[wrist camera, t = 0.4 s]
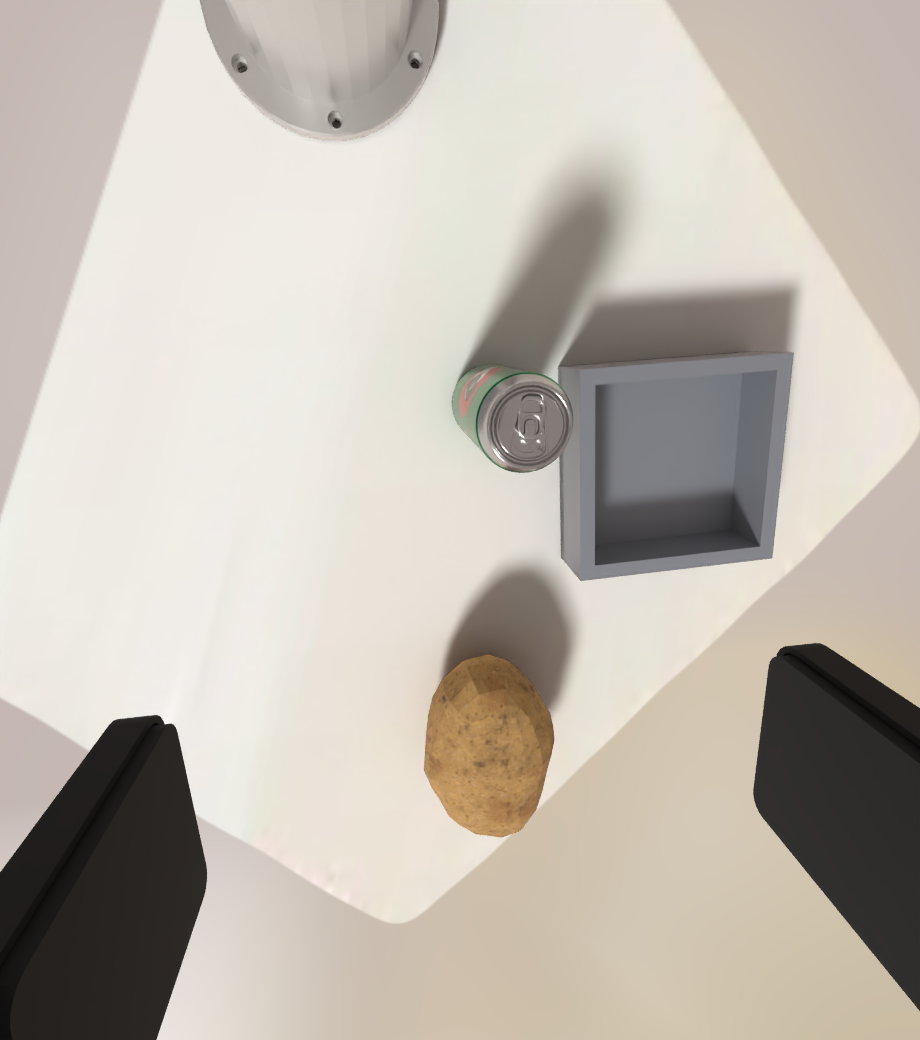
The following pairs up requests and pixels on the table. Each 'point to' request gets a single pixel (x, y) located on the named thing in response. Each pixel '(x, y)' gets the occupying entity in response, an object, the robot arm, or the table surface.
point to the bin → (672, 462)
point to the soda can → (513, 416)
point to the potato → (488, 746)
